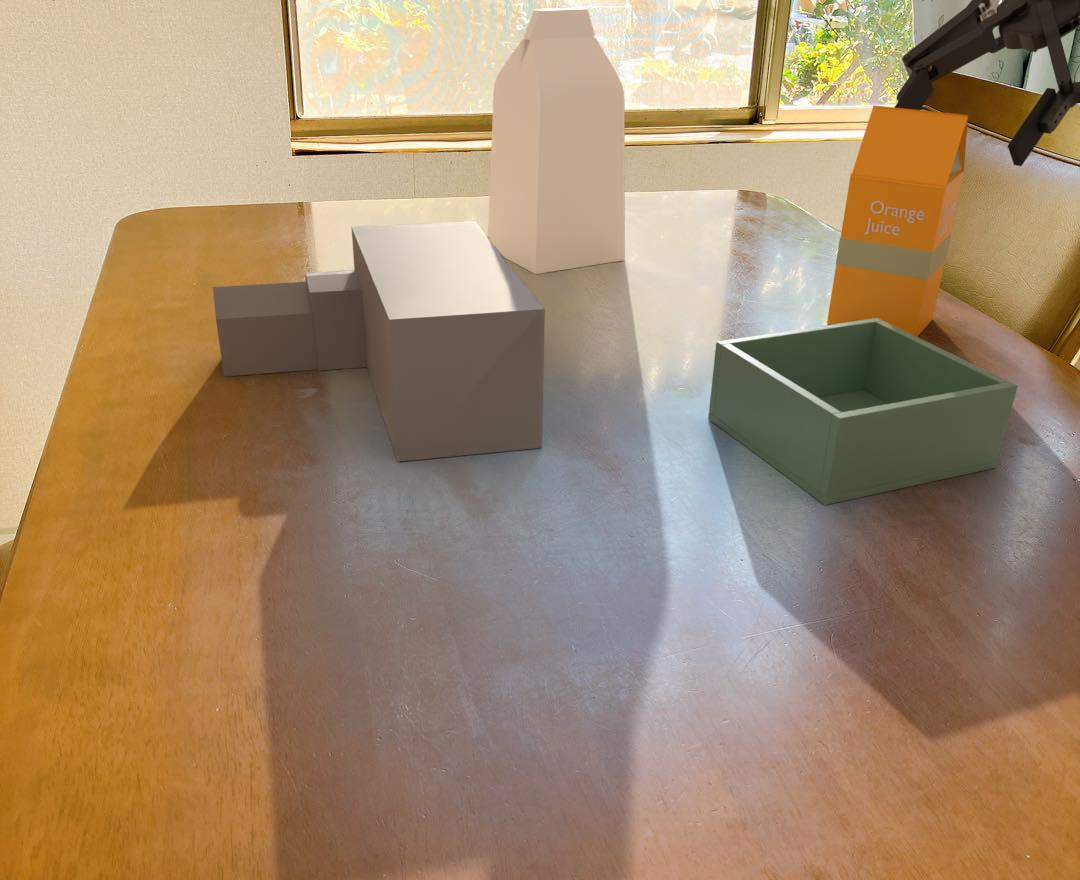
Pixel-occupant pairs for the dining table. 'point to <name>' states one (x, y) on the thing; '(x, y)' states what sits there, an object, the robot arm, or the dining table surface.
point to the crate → (858, 408)
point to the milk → (558, 149)
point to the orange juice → (899, 218)
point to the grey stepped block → (408, 336)
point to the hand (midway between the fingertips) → (949, 144)
